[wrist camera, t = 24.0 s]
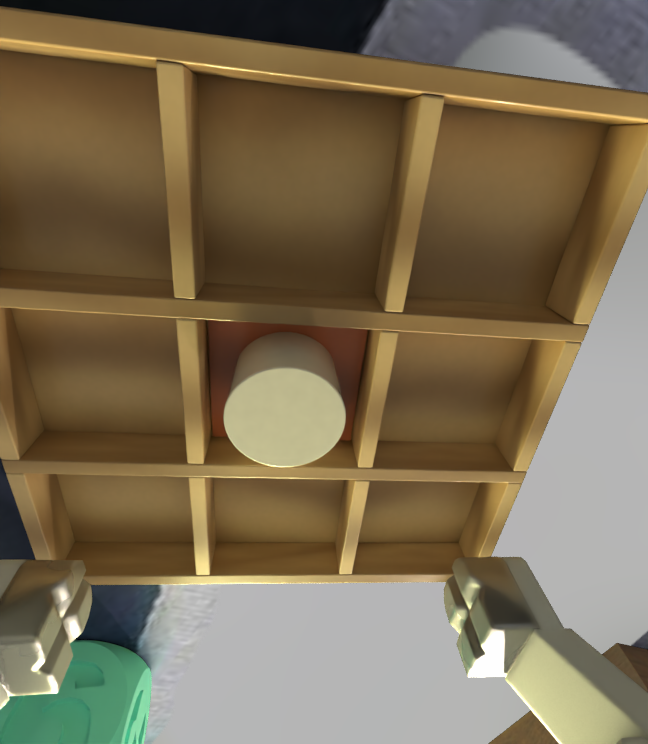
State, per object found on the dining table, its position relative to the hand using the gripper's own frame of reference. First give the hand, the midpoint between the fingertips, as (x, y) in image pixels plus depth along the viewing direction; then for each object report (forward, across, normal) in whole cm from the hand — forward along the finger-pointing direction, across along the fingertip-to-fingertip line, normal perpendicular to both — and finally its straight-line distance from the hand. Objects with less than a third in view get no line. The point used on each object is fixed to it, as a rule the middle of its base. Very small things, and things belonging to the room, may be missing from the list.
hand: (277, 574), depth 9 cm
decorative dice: (+10, +12, +24) cm, 29 cm away
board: (+10, 0, 0) cm, 10 cm away
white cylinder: (+9, 0, 0) cm, 9 cm away
